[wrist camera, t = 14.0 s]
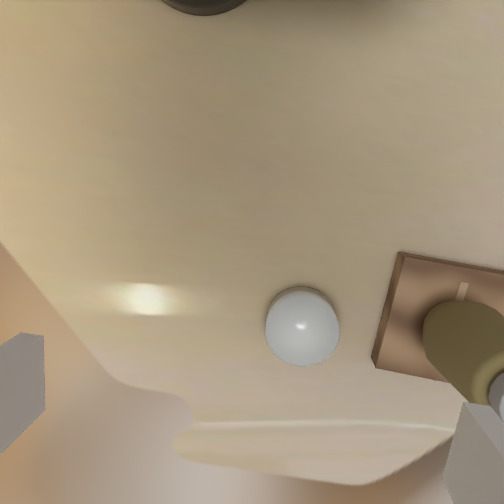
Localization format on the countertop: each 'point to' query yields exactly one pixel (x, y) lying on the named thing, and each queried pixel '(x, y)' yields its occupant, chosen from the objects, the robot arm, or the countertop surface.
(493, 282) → the plate
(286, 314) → the white dome cap
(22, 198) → the countertop surface
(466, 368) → the squeeze bottle
